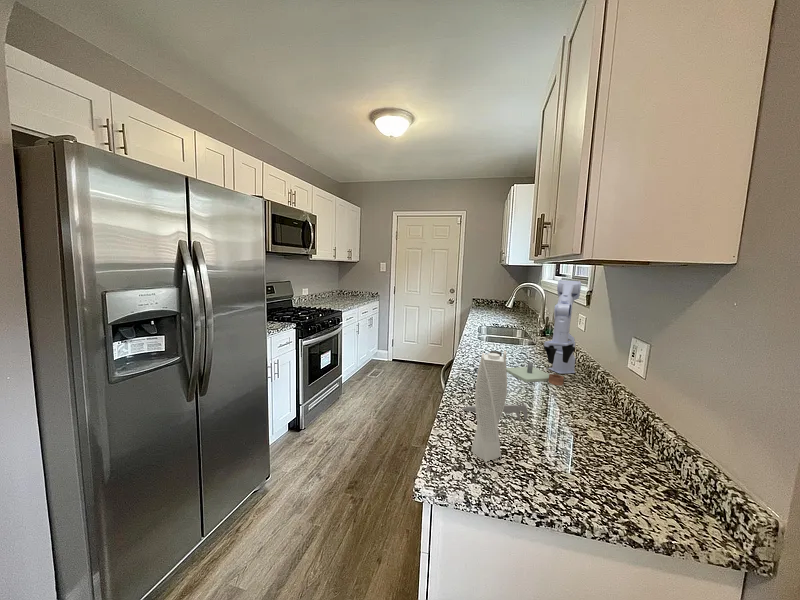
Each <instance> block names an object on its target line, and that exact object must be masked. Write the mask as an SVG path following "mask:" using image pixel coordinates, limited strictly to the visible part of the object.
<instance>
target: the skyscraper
mask: <svg viewBox="0 0 800 600" xmlns="http://www.w3.org/2000/svg"><path fill="white" fill-rule="evenodd" d="M507 354H508V353H507V350H504V351H503V354H502V355H501V356H500V355H499V354H496V353H490V352H489V353H487V354H485V353H484V352H482V354H481V357H480V362H479V366H478V369H477V371H478V372H477V376H476V383H475V392H474V403H475V404H474V406H475V408H476V411H475V418H476V424H477V425H476V429H475V433H474V437H473V438H474V439H473V441H472V445H471V450H470V452H471V453H473V455H475V454H476V455H475V456H477V457H478V458H479V457H480V458H479V459H481V460H482V459H483V460H484V463H485V462H486V463H488V462H487V461H489V462H491V461H490V460H492V461H494V460H493V459H495V460H497V459H502V454H501V443H500V442H501V441H500V434H499V426H498V425H499V423H500V420H501V418H502V414H503V412H504V411H503V409H504V405H506V401H507V394H508V392H507V391H508V372H507V370H506V368H507ZM499 457H500V458H499ZM496 458H497V459H496ZM483 460H482V461H483Z"/></svg>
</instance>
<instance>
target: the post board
mask: <svg viewBox="0 0 800 600" xmlns="http://www.w3.org/2000/svg"><path fill="white" fill-rule="evenodd" d="M506 370H507V374H510V375H511V374H512V375H511V376H513V377H515V378H517V379H519V380H521V382H525V383H535V382H549V375H550V373H547V372H545V371H543V370H541V369H538V368H536V367H535V366H534V363H533V362H527V366H522V367H521V366H519V367H506Z"/></svg>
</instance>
